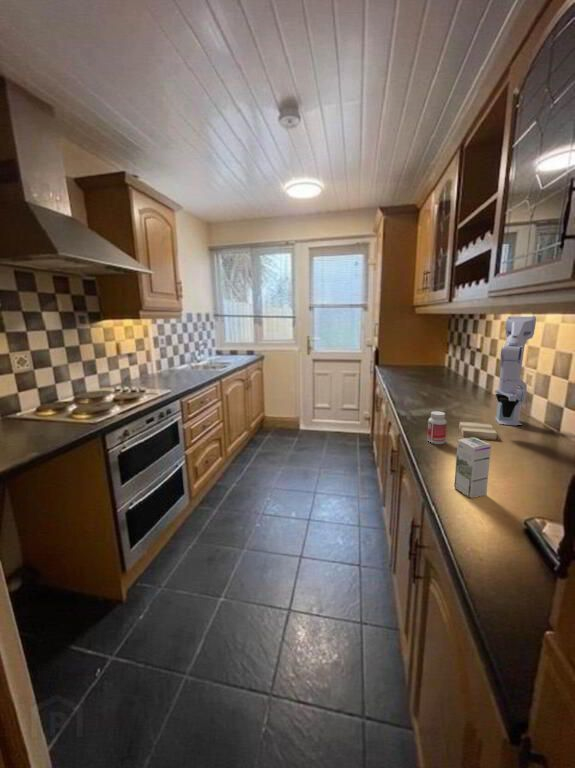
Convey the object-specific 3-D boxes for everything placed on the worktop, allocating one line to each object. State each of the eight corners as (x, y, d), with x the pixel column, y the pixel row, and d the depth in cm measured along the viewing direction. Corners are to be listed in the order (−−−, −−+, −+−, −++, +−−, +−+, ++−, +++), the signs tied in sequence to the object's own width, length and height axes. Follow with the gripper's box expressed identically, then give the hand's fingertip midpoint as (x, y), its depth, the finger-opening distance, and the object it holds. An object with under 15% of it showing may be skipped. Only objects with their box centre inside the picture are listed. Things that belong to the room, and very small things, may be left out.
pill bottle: (448, 442, 124) (450, 413, 121) (438, 446, 120) (440, 416, 118) (433, 437, 129) (435, 409, 126) (423, 441, 126) (425, 412, 123)
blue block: (496, 416, 129) (497, 401, 127) (509, 417, 127) (511, 402, 126) (498, 420, 124) (500, 404, 123) (513, 421, 123) (515, 405, 122)
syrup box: (487, 495, 89) (493, 443, 86) (469, 499, 87) (474, 447, 84) (470, 485, 94) (474, 436, 91) (452, 488, 92) (456, 438, 89)
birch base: (459, 427, 138) (459, 421, 138) (489, 429, 135) (490, 423, 134) (463, 436, 128) (463, 430, 128) (496, 439, 125) (497, 433, 124)
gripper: (491, 375, 130) (488, 408, 133) (501, 382, 117) (497, 420, 120) (512, 375, 128) (508, 409, 131) (525, 383, 115) (520, 421, 118)
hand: (504, 414), depth 125 cm, fingers closed on blue block, 4 cm apart
